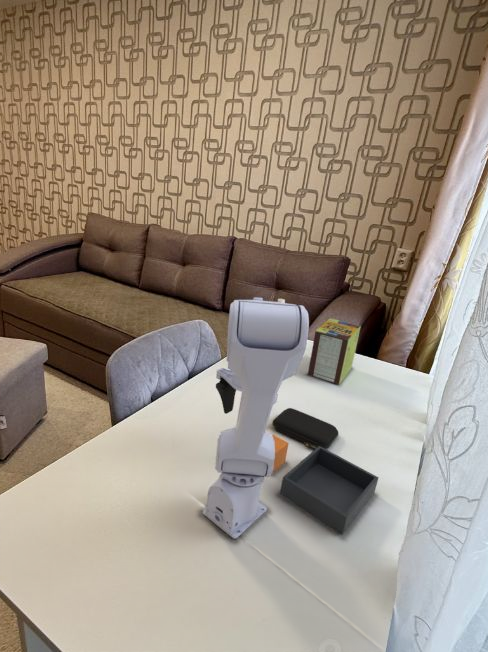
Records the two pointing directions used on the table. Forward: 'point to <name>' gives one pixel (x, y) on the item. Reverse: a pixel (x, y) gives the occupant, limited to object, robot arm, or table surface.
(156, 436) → the table surface
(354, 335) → the protein box
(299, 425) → the carrying case
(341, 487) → the bin
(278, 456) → the block
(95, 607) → the table surface
